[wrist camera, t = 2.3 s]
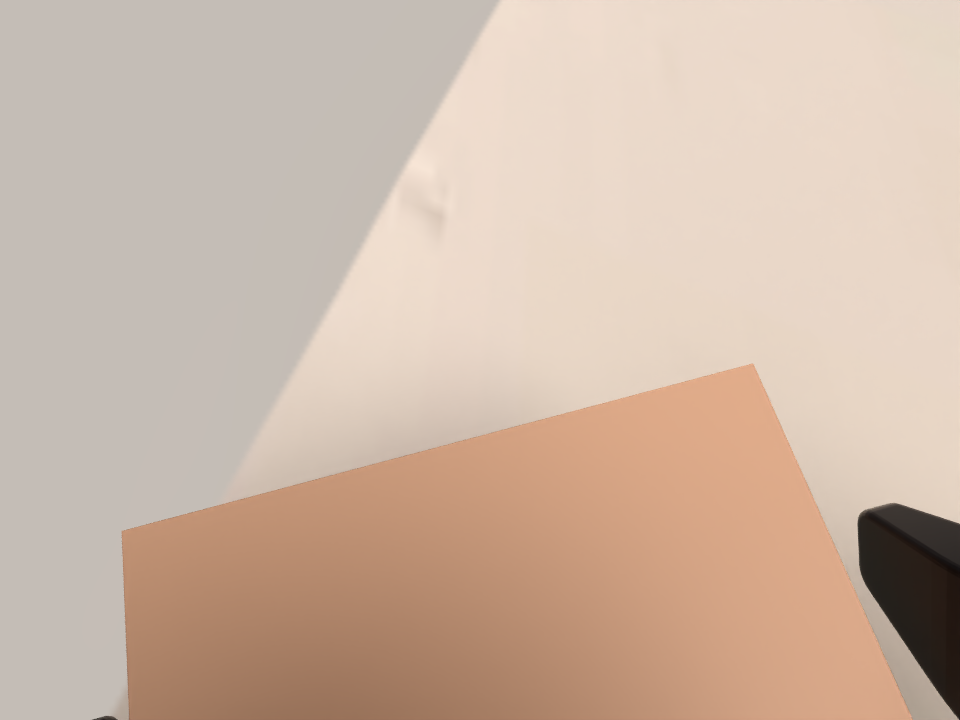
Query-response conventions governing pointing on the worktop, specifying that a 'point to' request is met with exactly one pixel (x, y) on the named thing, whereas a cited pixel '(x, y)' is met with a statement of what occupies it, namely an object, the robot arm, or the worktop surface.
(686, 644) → the rectangular block
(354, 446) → the worktop surface
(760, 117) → the worktop surface
